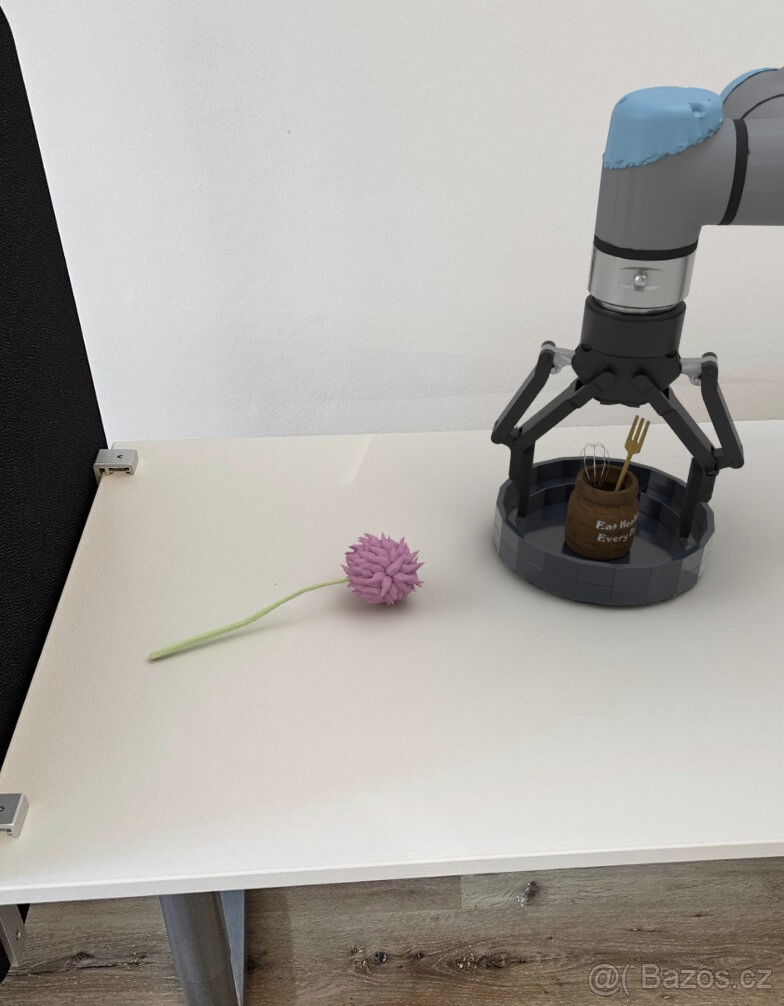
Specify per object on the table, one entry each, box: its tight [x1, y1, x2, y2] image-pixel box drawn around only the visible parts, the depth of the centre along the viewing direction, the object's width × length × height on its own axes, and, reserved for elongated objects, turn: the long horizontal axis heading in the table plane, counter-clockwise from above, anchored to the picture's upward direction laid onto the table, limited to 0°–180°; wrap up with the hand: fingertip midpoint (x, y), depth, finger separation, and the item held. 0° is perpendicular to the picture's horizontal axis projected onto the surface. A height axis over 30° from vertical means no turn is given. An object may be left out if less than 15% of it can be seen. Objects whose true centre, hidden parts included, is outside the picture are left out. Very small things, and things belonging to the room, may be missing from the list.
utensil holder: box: [565, 414, 651, 560], centre depth 95 cm, size 6×6×12 cm
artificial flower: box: [148, 531, 426, 660], centre depth 91 cm, size 7×7×25 cm
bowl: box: [492, 455, 716, 606], centre depth 97 cm, size 18×18×4 cm
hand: (601, 519), depth 96 cm, fingers open, 13 cm apart
